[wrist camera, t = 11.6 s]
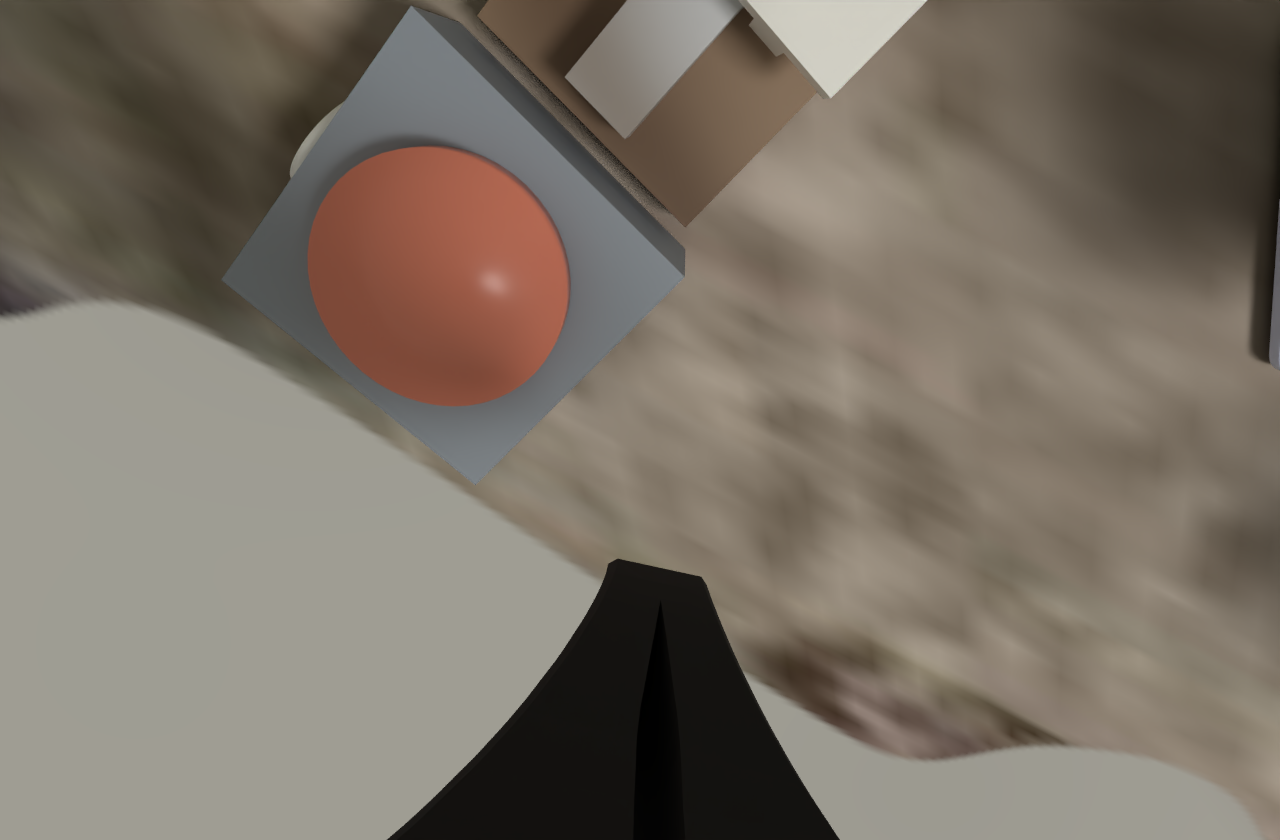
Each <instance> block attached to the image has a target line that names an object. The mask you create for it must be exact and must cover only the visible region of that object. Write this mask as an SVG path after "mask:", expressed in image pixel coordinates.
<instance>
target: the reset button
mask: <svg viewBox="0 0 1280 840" xmlns="http://www.w3.org/2000/svg"><path fill="white" fill-rule="evenodd" d="M308 275H309V281H310V288H311V291H312V295H313V298H314V302H315V305H316V307H317V310H318V312H319V315H320V317H321V320H322V321H323V323H324V325H325V327H326V329H327V331H328V332H329V334H330V336H331V337H332V339H333V340H334V341H335V343H336V344H337V346H338V347H339V348H340V350H341V351H342V352H343V353H344V354H345V355H346V356H347V358H348V359H349V360H350V361H351V362H352V363H353V364H354V365H355V366H356V367H358V368H359V369H360V370H361V371H362V372H363V373H364V374H366V375H367V376H368V377H370V378H371V379H373V380H374V381H375V382H377V383H378V384H380V385H382V386H383V387H385V388H387V389H389V390H390V391H392V392H395V393H397V394H399V395H401V396H404V397H406V398H409V399H412V400H415V401H419V402H422V403H427V404H433V405H439V406H469V405H474V404H480V403H485V402H488V401H491V400H494V399H497V398H499V397H501V396H503V395H505V394H507V393H510V392H511V391H513V390H514V389H516V388H517V387H519V386H520V385H522V384H523V383H525V382H526V381H527V380H528V379H529V378H530V377H531V376H532V375H534V374H535V372H536V371H537V370H538V369H539V368H540V367H541V365H542V364H543V363H544V362H545V360H546V358H547V357H548V355H549V354H550V352H551V350H552V349H553V347H554V345H555V343H556V342H557V340H558V338H559V335H560V333H561V331H562V329H563V326H564V324H565V320H566V317H567V313H568V309H569V302H570V294H571V277H570V270H569V262H568V258H567V254H566V250H565V246H564V243H563V241H562V238H561V236H560V233H559V231H558V228H557V226H556V225H555V223H554V221H553V219H552V217H551V216H550V214H549V212H548V211H547V209H546V208H545V207H544V205H543V204H542V202H541V201H540V200H539V198H538V197H537V196H536V195H535V194H534V193H533V192H532V191H531V190H530V189H529V187H528V186H527V185H526V184H524V183H523V182H522V181H521V180H520V179H519V178H517V177H516V176H515V175H514V174H513V173H511V172H510V171H508V170H507V169H505V168H504V167H502V166H501V165H499V164H498V163H496V162H494V161H491V160H489V159H487V158H485V157H483V156H481V155H478V154H475V153H472V152H470V151H467V150H463V149H458V148H453V147H448V146H432V145H428V146H417V147H409V148H402V149H397V150H393V151H389V152H385V153H381V154H379V155H376V156H374V157H372V158H369V159H367V160H365V161H363V162H362V163H360V164H358V165H357V166H355V167H354V168H352V169H351V170H350V171H348V172H347V173H346V174H345V175H344V176H343V177H341V178H340V179H339V180H338V181H337V183H336V184H335V185H334V186H333V187H332V188H331V190H330V191H329V192H328V194H327V195H326V197H325V198H324V200H323V202H322V203H321V205H320V207H319V209H318V212H317V214H316V216H315V219H314V221H313V225H312V229H311V233H310V237H309V245H308Z"/></svg>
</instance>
